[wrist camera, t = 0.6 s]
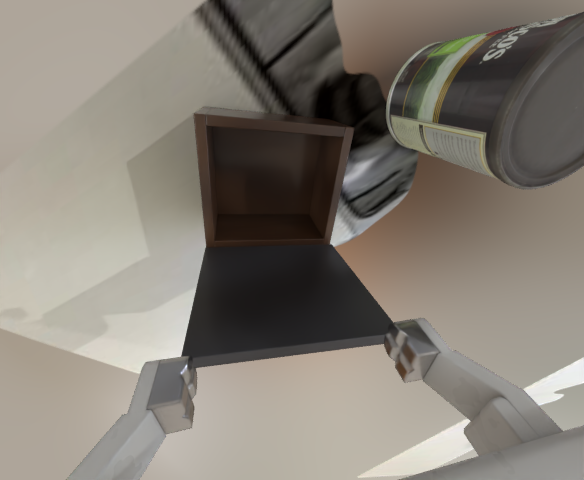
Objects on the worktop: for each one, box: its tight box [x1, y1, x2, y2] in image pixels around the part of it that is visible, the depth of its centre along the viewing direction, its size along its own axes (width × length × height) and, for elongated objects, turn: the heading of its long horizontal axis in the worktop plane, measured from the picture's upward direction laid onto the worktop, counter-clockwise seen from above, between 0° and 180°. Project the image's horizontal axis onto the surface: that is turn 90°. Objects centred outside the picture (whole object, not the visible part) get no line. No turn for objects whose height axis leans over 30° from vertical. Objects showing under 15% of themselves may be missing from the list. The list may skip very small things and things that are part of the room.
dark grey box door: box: [181, 244, 393, 368], centre depth 19 cm, size 12×13×1 cm
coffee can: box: [386, 12, 584, 189], centre depth 21 cm, size 10×10×14 cm
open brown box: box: [194, 107, 354, 247], centre depth 25 cm, size 12×13×7 cm
